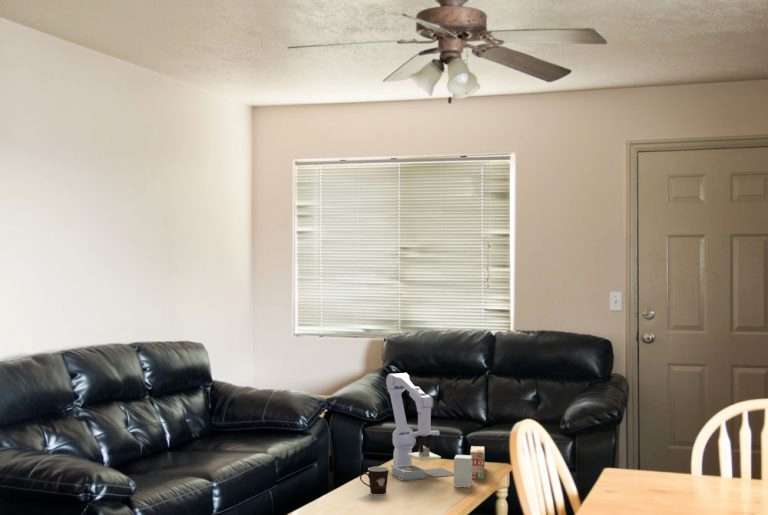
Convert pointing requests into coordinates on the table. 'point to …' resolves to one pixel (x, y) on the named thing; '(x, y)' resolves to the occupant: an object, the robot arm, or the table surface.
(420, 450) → the robot arm
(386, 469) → the coffee mug
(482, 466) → the stack of blocks
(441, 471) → the mat
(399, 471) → the box
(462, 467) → the supplement box
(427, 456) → the lid
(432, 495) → the table surface
